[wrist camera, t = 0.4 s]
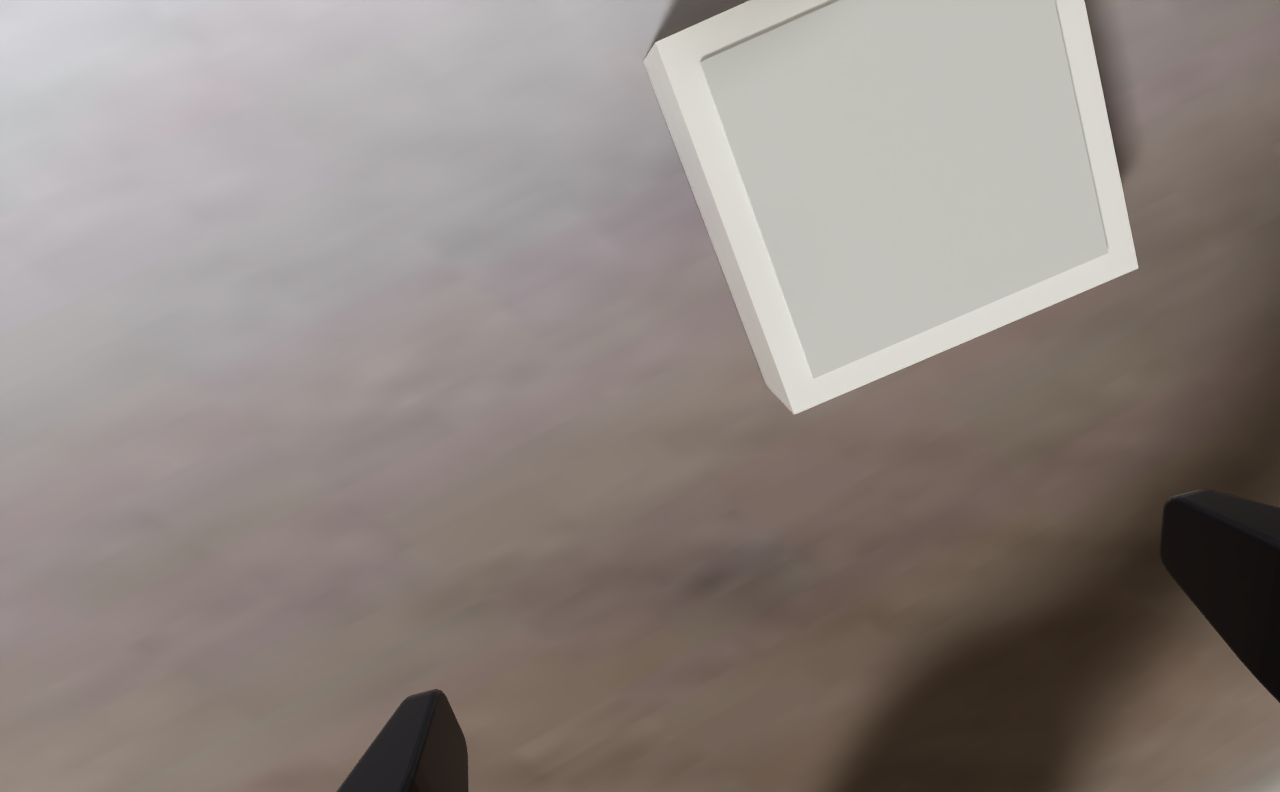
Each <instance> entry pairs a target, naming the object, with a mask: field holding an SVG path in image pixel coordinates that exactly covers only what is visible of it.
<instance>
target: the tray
mask: <svg viewBox="0 0 1280 792" xmlns="http://www.w3.org/2000/svg"><path fill="white" fill-rule="evenodd" d="M643 62H644V65H645V68H646V70H647V73H648V76H649V78H650V81H651V83H652V86H653V89H654V91H655V94H656V97H657V99H658V102H659V104H660V107H661V110H662V112H663V115H664V118H665V120H666V123H667V125H668V128H669V131H670V133H671V136H672V139H673V141H674V144H675V147H676V149H677V152H678V154H679V157H680V160H681V162H682V165H683V168H684V170H685V173H686V175H687V178H688V181H689V183H690V186H691V189H692V191H693V194H694V196H695V199H696V202H697V204H698V207H699V210H700V212H701V215H702V217H703V220H704V223H705V225H706V228H707V231H708V233H709V236H710V238H711V241H712V244H713V246H714V249H715V252H716V254H717V257H718V259H719V262H720V265H721V267H722V270H723V273H724V275H725V278H726V280H727V283H728V286H729V288H730V291H731V294H732V296H733V299H734V302H735V304H736V307H737V309H738V312H739V315H740V317H741V320H742V323H743V325H744V328H745V330H746V333H747V336H748V338H749V341H750V344H751V346H752V349H753V351H754V354H755V357H756V359H757V362H758V365H759V367H760V370H761V372H762V375H763V378H764V380H765V383H766V385H767V386H768V387H769V389H770V390H771V391H772V392H773V393H774V394H775V395H776V396H777V397H778V398H779V399H780V400H781V401H782V402H783V403H784V404H785V405H786V406H787V408H788V409H789V410H790V411H791V412H792V413H793V414H794V415H795V414H797V413H799V412H802V411H804V410H806V409H809V408H811V407H813V406H816V405H818V404H820V403H823V402H825V401H828V400H830V399H832V398H835V397H837V396H839V395H842V394H844V393H846V392H849V391H851V390H853V389H856V388H858V387H860V386H863V385H865V384H867V383H870V382H872V381H875V380H877V379H879V378H882V377H884V376H886V375H889V374H891V373H893V372H896V371H898V370H900V369H903V368H905V367H907V366H910V365H912V364H914V363H917V362H919V361H922V360H924V359H926V358H929V357H931V356H933V355H936V354H938V353H940V352H943V351H945V350H947V349H950V348H952V347H954V346H957V345H959V344H961V343H964V342H966V341H969V340H971V339H973V338H976V337H978V336H980V335H983V334H985V333H987V332H990V331H992V330H994V329H997V328H999V327H1001V326H1004V325H1006V324H1008V323H1011V322H1013V321H1016V320H1018V319H1020V318H1023V317H1025V316H1027V315H1030V314H1032V313H1034V312H1037V311H1039V310H1041V309H1044V308H1046V307H1048V306H1051V305H1053V304H1055V303H1058V302H1060V301H1063V300H1065V299H1067V298H1070V297H1072V296H1074V295H1077V294H1079V293H1081V292H1084V291H1086V290H1088V289H1091V288H1093V287H1095V286H1098V285H1100V284H1102V283H1105V282H1107V281H1110V280H1112V279H1114V278H1117V277H1119V276H1121V275H1124V274H1126V273H1128V272H1131V271H1133V270H1135V269H1138V264H1137V259H1136V254H1135V249H1134V244H1133V239H1132V234H1131V229H1130V224H1129V219H1128V214H1127V209H1126V204H1125V199H1124V194H1123V189H1122V184H1121V179H1120V174H1119V170H1118V165H1117V160H1116V155H1115V150H1114V145H1113V140H1112V135H1111V130H1110V125H1109V120H1108V115H1107V110H1106V105H1105V100H1104V95H1103V90H1102V85H1101V80H1100V75H1099V70H1098V65H1097V61H1096V56H1095V51H1094V46H1093V41H1092V36H1091V31H1090V26H1089V21H1088V16H1087V11H1086V6H1085V1H1084V0H749V1H747V2H745V3H742V4H740V5H738V6H736V7H733V8H731V9H729V10H727V11H724V12H722V13H720V14H718V15H715V16H713V17H711V18H709V19H706V20H704V21H702V22H700V23H697V24H695V25H693V26H691V27H688V28H686V29H684V30H682V31H679V32H677V33H675V34H673V35H670V36H668V37H666V38H664V39H661V40H659V41H657V42H655V44H654V45H653V47H652V48H651V50H650V51H649V53H648V55H647V56H646V58H645V59H644V61H643Z"/></svg>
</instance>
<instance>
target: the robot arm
mask: <svg viewBox="0 0 1280 792" xmlns="http://www.w3.org/2000/svg"><path fill="white" fill-rule="evenodd" d="M1160 556H1161V560H1162V562H1163V565H1164V566H1165V568H1166V570H1167V571H1168V573H1169V574H1170V575H1171V576H1172V578H1173V579H1174V580H1175V581H1176V583H1177V584H1178V585H1179V586H1180V587H1181V589H1182V590H1183V591H1184V592H1185V593H1186V595H1187V596H1188V597H1189V598H1190V599H1191V601H1192V602H1193V603H1194V604H1195V606H1196V607H1197V608H1198V609H1199V610H1200V612H1201V613H1202V614H1203V615H1204V616H1205V618H1206V619H1207V620H1208V621H1209V623H1210V624H1211V625H1212V626H1213V627H1214V629H1215V630H1216V631H1217V632H1218V633H1219V635H1220V636H1221V637H1222V638H1223V640H1224V641H1225V642H1226V643H1227V644H1228V646H1229V647H1230V648H1231V649H1232V650H1233V652H1234V653H1235V654H1236V655H1237V657H1238V658H1239V659H1240V660H1241V661H1242V662H1243V664H1244V665H1245V666H1246V667H1247V668H1248V669H1249V670H1250V672H1251V673H1252V674H1253V675H1254V676H1255V677H1256V678H1257V680H1258V681H1259V682H1260V683H1261V684H1262V685H1263V686H1264V687H1265V688H1266V689H1267V690H1268V691H1269V692H1270V693H1271V694H1272V695H1273V696H1274V697H1275V698H1276V699H1277V701H1278V702H1279V703H1280V508H1279V507H1275V506H1271V505H1267V504H1263V503H1259V502H1255V501H1251V500H1247V499H1243V498H1239V497H1235V496H1231V495H1227V494H1224V493H1220V492H1216V491H1212V490H1207V489H1199V490H1194V491H1190V492H1186V493H1182V494H1178V495H1174V496H1172V497H1170V498H1169V499H1168V500H1167V501H1166V503H1165V504H1164V508H1163V517H1162V528H1161V539H1160ZM337 792H468V753H467V746H466V741H465V738H464V735H463V732H462V730H461V728H460V726H459V724H458V721H457V719H456V717H455V715H454V713H453V710H452V708H451V706H450V704H449V702H448V699H447V697H446V695H445V694H444V693H443V692H442V691H441V690H438V689H434V690H430V691H426V692H422V693H419V694H415V695H411V696H409V697H407V698H406V699H405V700H404V701H403V702H402V703H401V704H400V706H399V707H398V708H397V710H396V711H395V713H394V714H393V715H392V717H391V718H390V719H389V721H388V722H387V723H386V725H385V726H384V728H383V729H382V730H381V732H380V733H379V734H378V736H377V737H376V739H375V740H374V741H373V743H372V744H371V745H370V747H369V748H368V749H367V751H366V752H365V754H364V755H363V756H362V758H361V759H360V760H359V762H358V763H357V765H356V766H355V767H354V769H353V770H352V771H351V773H350V774H349V775H348V777H347V778H346V780H345V781H344V782H343V784H342V785H341V786H340V788H339V789H338V790H337Z"/></svg>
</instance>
